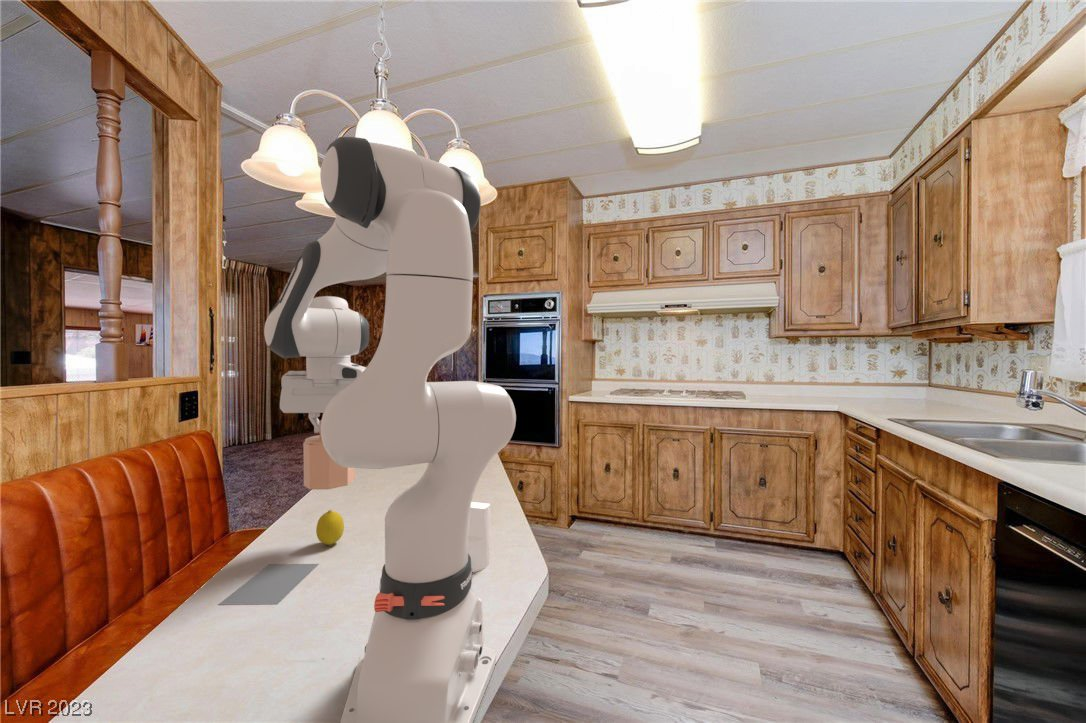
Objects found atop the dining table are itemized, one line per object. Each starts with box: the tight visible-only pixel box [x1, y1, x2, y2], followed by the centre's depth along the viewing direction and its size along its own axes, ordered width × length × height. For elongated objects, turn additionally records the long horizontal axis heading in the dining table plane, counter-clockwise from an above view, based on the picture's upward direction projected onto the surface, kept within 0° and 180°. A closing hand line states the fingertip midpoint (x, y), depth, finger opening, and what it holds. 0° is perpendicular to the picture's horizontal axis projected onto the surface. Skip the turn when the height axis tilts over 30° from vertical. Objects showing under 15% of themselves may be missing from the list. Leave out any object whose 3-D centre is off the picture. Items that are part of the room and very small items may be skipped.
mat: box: [217, 563, 320, 606], centre depth 79 cm, size 14×10×1 cm
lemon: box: [315, 509, 345, 546], centre depth 95 cm, size 6×6×8 cm
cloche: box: [302, 419, 356, 491], centre depth 95 cm, size 10×10×14 cm
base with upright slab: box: [468, 501, 491, 573], centre depth 88 cm, size 9×9×12 cm
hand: (329, 432), depth 95 cm, fingers closed on cloche, 3 cm apart
